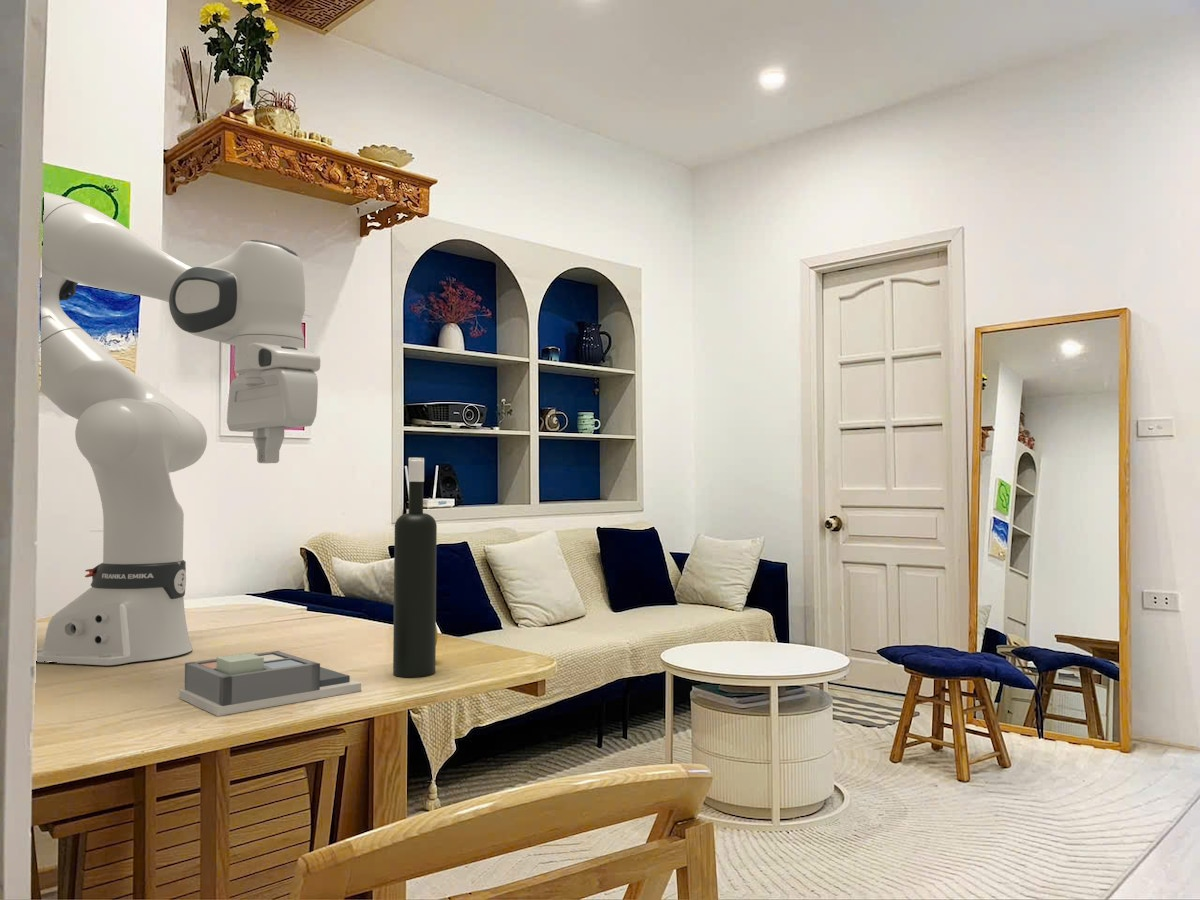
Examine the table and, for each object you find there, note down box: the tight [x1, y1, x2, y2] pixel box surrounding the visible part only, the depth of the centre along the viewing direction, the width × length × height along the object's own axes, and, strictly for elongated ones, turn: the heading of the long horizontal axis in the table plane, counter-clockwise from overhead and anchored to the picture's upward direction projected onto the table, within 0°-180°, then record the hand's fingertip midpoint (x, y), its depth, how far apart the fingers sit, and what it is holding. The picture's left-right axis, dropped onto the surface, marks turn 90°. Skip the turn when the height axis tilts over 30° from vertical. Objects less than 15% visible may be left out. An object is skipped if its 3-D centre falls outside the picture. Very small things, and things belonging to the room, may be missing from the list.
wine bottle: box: [392, 457, 438, 678], centre depth 126 cm, size 6×6×30 cm
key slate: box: [264, 660, 302, 669], centre depth 110 cm, size 4×4×2 cm
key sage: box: [216, 652, 264, 675], centre depth 107 cm, size 4×4×2 cm
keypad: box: [178, 650, 362, 717], centre depth 112 cm, size 18×12×4 cm, turn 134°
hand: (268, 463), depth 121 cm, fingers closed
